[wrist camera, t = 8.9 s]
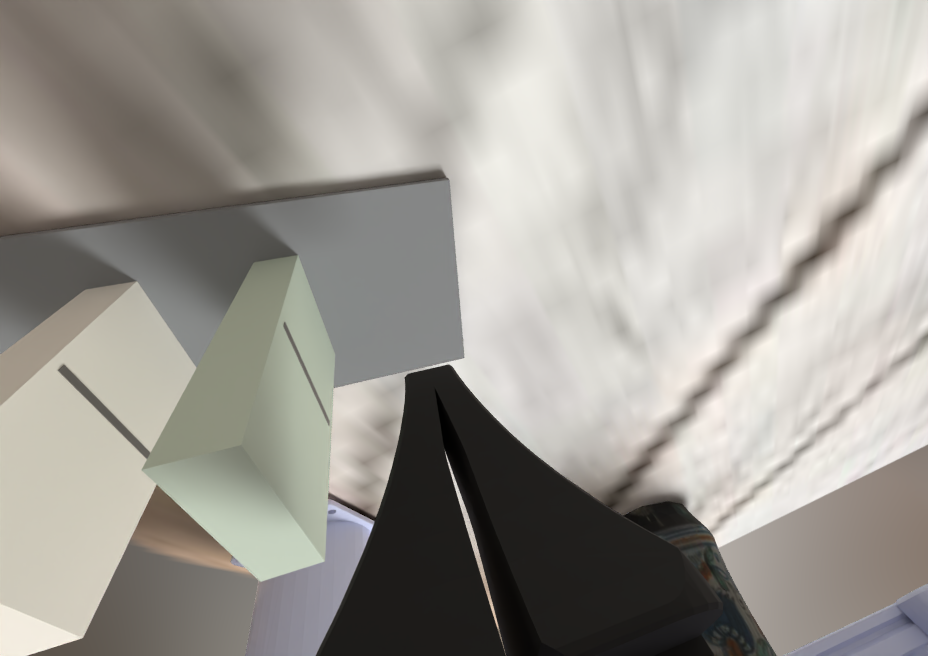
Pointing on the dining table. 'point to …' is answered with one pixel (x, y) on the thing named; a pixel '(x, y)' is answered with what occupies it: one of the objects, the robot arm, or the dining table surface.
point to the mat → (258, 239)
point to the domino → (78, 456)
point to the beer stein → (707, 578)
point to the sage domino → (257, 427)
